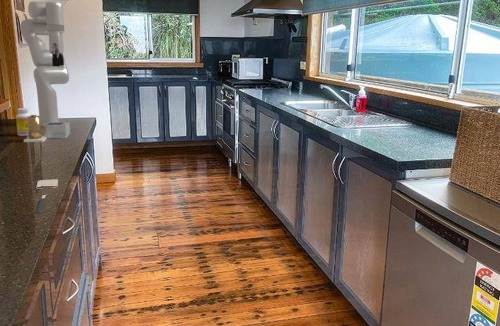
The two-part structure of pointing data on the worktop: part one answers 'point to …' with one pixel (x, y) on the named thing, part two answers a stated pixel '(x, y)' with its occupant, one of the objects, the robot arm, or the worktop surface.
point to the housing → (55, 129)
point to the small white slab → (42, 200)
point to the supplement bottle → (22, 122)
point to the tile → (35, 139)
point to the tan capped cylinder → (34, 127)
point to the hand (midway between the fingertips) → (58, 65)
